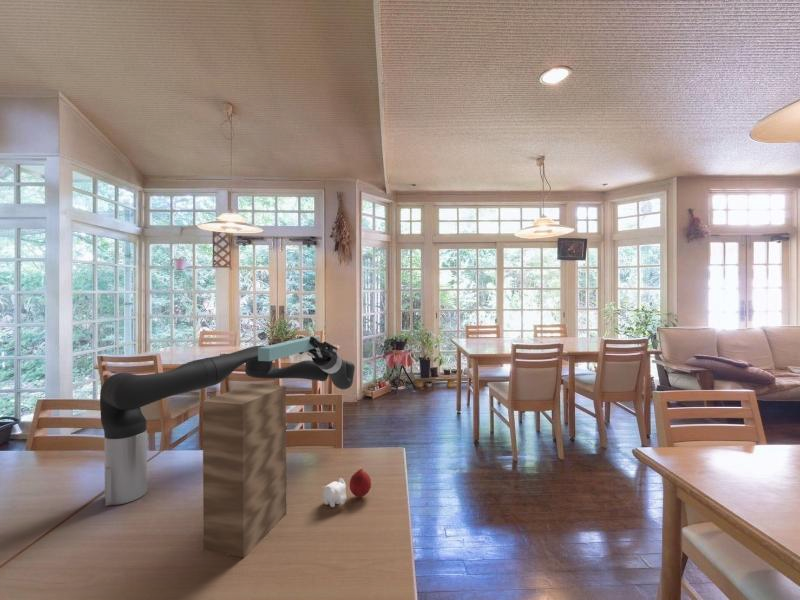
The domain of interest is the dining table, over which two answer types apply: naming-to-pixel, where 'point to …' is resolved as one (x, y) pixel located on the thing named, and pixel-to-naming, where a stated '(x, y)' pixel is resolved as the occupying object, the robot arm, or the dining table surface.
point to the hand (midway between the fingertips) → (305, 339)
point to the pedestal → (243, 467)
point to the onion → (360, 483)
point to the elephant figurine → (334, 493)
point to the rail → (284, 349)
